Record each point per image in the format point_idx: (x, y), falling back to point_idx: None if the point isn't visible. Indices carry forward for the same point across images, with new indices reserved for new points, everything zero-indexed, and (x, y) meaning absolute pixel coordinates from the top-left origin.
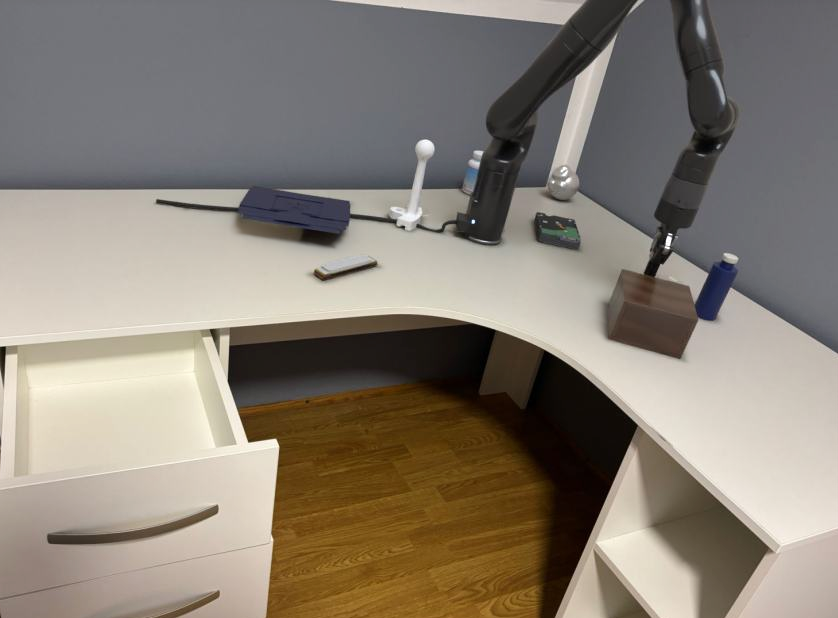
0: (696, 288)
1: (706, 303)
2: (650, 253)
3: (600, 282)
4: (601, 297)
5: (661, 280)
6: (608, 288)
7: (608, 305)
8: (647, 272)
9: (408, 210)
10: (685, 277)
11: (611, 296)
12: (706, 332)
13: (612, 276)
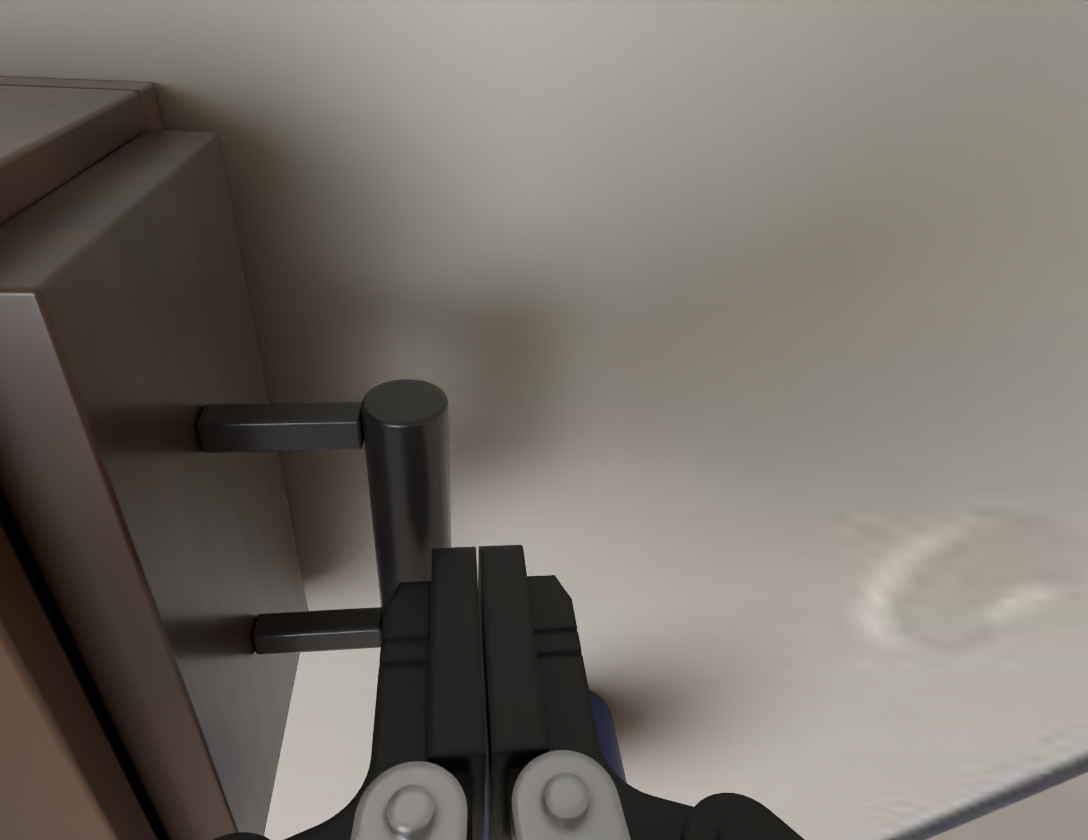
0: (909, 700)
1: (486, 819)
2: (623, 815)
3: (763, 16)
4: (323, 4)
5: (16, 803)
6: (637, 113)
7: (97, 82)
8: (416, 615)
9: None
10: (1055, 659)
11: (89, 105)
12: (291, 738)
13: (965, 175)
